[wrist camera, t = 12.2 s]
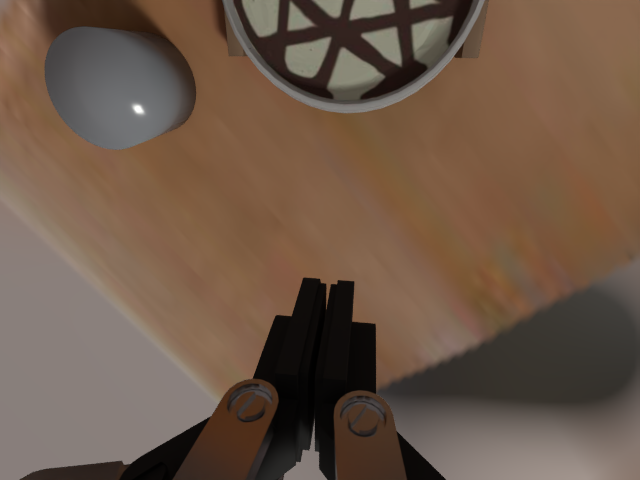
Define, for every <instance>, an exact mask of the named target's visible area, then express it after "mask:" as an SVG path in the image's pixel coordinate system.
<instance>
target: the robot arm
mask: <svg viewBox="0 0 640 480" xmlns="http://www.w3.org/2000/svg"><path fill="white" fill-rule="evenodd" d="M353 298H354V281H342V280H338V283H337V285H336V284H331V287H330V293H329V298H328V304H327V310H326V284H324V283H321V281H320V279H316V278H303V281H302V284H301V287H300V291H299V294H298V297H297V300H296V304H295V307H294V310H293V314H292V316H281V315H277V316H275V319H274V321H273V324H272V327H271V329H270V332H269V335H268V338H267V340H266V343H265V346H264V349H263V351H262V354H261V357H260V360H259V363H258V365H257V368H256V371H255V374H254V376H253V379H248V380H244V381H241V382H239V383H236V384H235V385H234V386H232V387H231V388H230V389H229V390H228V391H227V392H226V393H225V395H224V396H223V398H222V399H221V401H220V403H219V404H218V406H217V408H216V409H215V411H214V412H213V414H212V416H211V417H209V418H207V419H205V420H204V421H202V422H200V423H198V424H197V425H195V426H193V427H191V428H190V429H188V430H186V431H184V432H183V433H181V434H179V435H177V436H176V437H174V438H172V439H170V440H169V441H167V442H165V443H163V444H162V445H160V446H158V447H157V448H155V449H153V450H151V451H150V452H148V453H146V454H145V455H143V456H141V457H140V458H138V459H137V460H136V461H134V462H133V463H131V464H127V465H124V464H123V462H122V461H115V462H105V463H96V464H87V465H78V466H68V467H59V468H49V469H43V470H39V471H35V472H32V473H30V474H29V475H27V476H25V477H23V478H21V479H20V480H283V478H284V474H285V473H286V472H287V471H289V470H290V469H291V468H293V467H294V466H295V465H296V462H301V456H302V450H309V449H310V445H311V438H312V432H313V426H314V419H315V451H318V452H319V468H320V470H321V471H322V473H323V474H324V476H325V477H326V478H327V480H446V479H445V478H444V477H443V476H442V475H441V474H440V473H439V472H438V471H437V470H436V469H435V468H434V467H432V465H431V464H430V463H429V462H428V461H426V459H424V458H423V457H422V456H421V455H420V454H419V453H418V452H417V451H416V450H415V449H414V448H413V447H412V446H411V445H410V444H409V443H408V442H407V441H406V440H405V439H404V438H403V437H402V436H401V435H400V434H399V433H398V432H397V431H396V427H395V422H394V418H393V414H392V411H391V409H390V407H389V405H388V404H387V403H386V401H385V400H384V399H382V398H381V397H380V396H378V395H377V394H376V325H375V324H371V323H360V322H352V315H353Z"/></svg>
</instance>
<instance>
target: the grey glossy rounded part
mask: <svg viewBox="0 0 640 480" xmlns="http://www.w3.org/2000/svg"><path fill="white" fill-rule="evenodd" d="M45 80H46V86H47V89H48V93H49V96H50V98H51V101H52V103H53V105H54V107H55V108H56V110H57V112H58V113H59V115H60V116H61V118H62V119H63V120H64V122H65V123H66V124H67V125H68V126H69V127H70V128H71V129H72V130H73V131H74V132H75V133H76V134H78V135H79V136H80V137H82V138H83V139H85V140H86V141H88V142H90V143H92V144H94V145H96V146H99V147H102V148H107V149H114V150H117V149H126V148H129V147H132V146H135V145H137V144H140V143H142V142H145V141H147V140H150V139H152V138H155V137H157V136H160V135H162V134H165V133H167V132H169V131H172V130H174V129H177V128H178V127H180V126H181V125H183V124H184V123H185V122H186V121H187V120H188V118H189V117H190V115H191V113H192V111H193V108H194V105H195V100H196V86H195V80H194V77H193V73H192V71H191V68H190V66H189V64H188V62H187V61H186V59H185V58H184V56H183V55H182V53H181V52H180V51H179V50H178V49H177V48H176V47H175V46H174V45H173V44H172V43H170V42H169V41H167V40H166V39H164V38H163V37H161V36H159V35H156V34H153V33H149V32H140V31H130V30H119V29H108V28H97V27H85V26H83V27H75V28H71V29H69V30H66V31H64V32H63V33H61V34H60V35H59V36H58V37H57V38H56V39H55V40H54V41H53V43H52V44H51V46H50V48H49V50H48V53H47V56H46V60H45Z"/></svg>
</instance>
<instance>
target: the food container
mask: <svg viewBox="0 0 640 480" xmlns="http://www.w3.org/2000/svg"><path fill="white" fill-rule="evenodd" d="M484 1H485V0H222V2H223V5H224V9H225V12H226V15H227V17H228V20H229V22H230V24H231V27H232V29H233V31H234V34H235V36H236V37H237V39H238V41H239V42H240V44H241V46H242V47H243V49H244V51H245V53H246V54H247V55H248V57H249V58H250V59H251V60H252V62H253V63H254V64H255V65H256V67H257V68H258V69H259V70H260V71H261V72H262V73H263V74H264V75H265V76H266V77H267V78H268V79H269V80H270V81H271V82H272V83H273V84H274V85H275V86H277V87H278V88H279V89H281V90H282V91H283V92H285V93H286V94H288V95H289V96H291V97H292V98H294V99H296V100H298V101H300V102H302V103H304V104H307V105H309V106H311V107H315V108H318V109H322V110H325V111H331V112H340V113H357V112H366V111H371V110H376V109H380V108H384V107H386V106H389V105H391V104H394V103H396V102H399V101H401V100H403V99H404V98H406V97H408V96H410V95H411V94H413V93H415V92H416V91H418V90H419V89H421V88H422V87H423V86H424V85H426V84H427V83H428V82H429V81H431V80H432V79H433V78H434V77H435V76H436V75H437V74H438V73H439V72H440V71H441V70H442V69H443V68H444V67H445V66H446V65H447V64H448V63H449V62H450V61H451V59H452V58H453V57H454V55H455V54H456V52H457V51H458V50H459V48H460V47H461V46H462V44H463V43H464V41H465V39H466V38H467V36H468V34H469V32H470V30H471V29H472V27H473V25H474V23H475V21H476V19H477V18H478V16H479V13H480V11H481V8H482V6H483V3H484Z"/></svg>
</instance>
